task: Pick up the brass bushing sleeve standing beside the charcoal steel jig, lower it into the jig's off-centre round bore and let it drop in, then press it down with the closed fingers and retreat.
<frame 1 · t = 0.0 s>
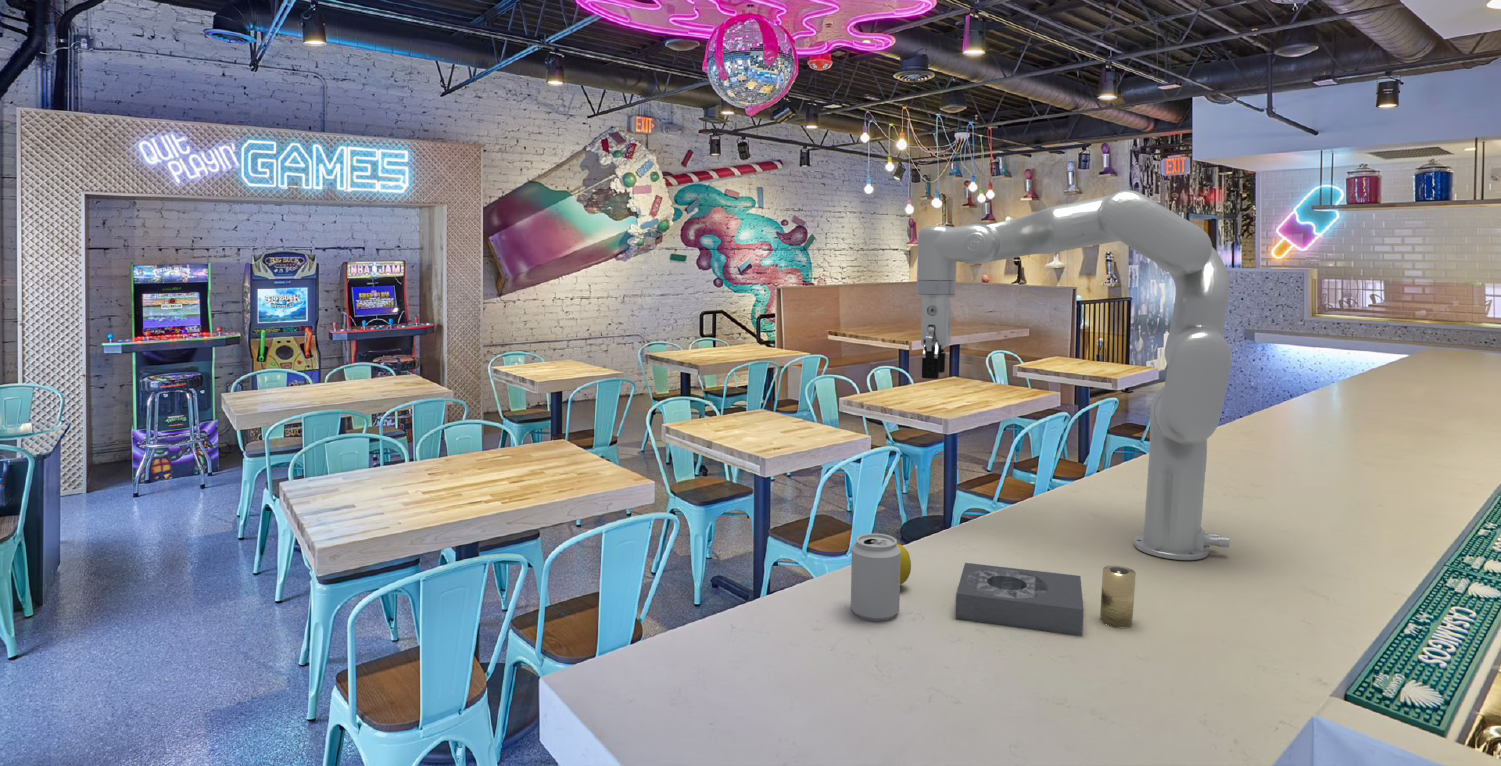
hand: (933, 375, 169), 31 cm above the counter, fingers open, 9 cm apart
jig: (1018, 608, 132), on the counter
lemon: (893, 589, 140), on the counter
bushing: (1115, 621, 127), on the counter
can: (874, 614, 130), on the counter
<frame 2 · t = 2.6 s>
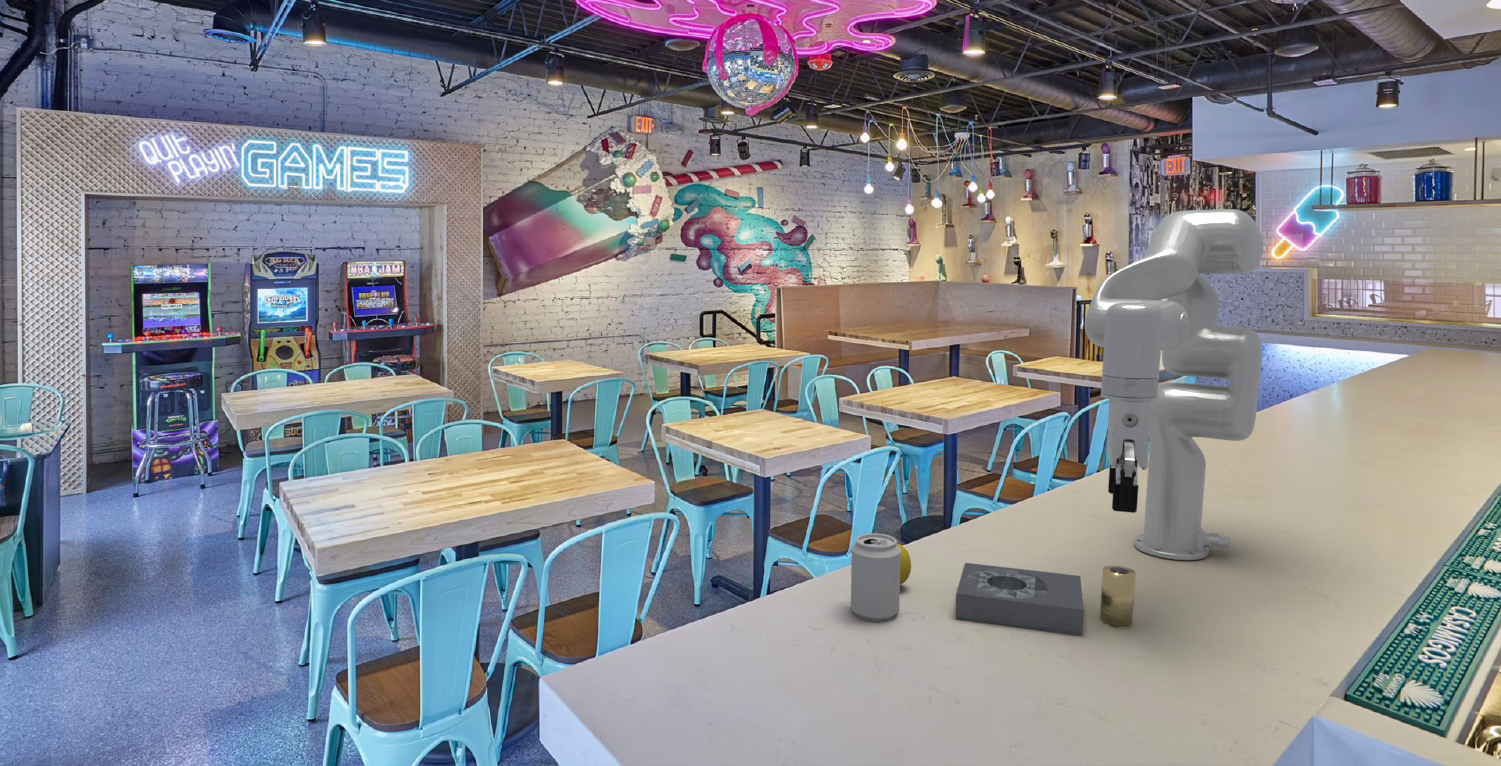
hand: (1121, 502, 125), 19 cm above the counter, fingers open, 9 cm apart
nothing on the counter moved.
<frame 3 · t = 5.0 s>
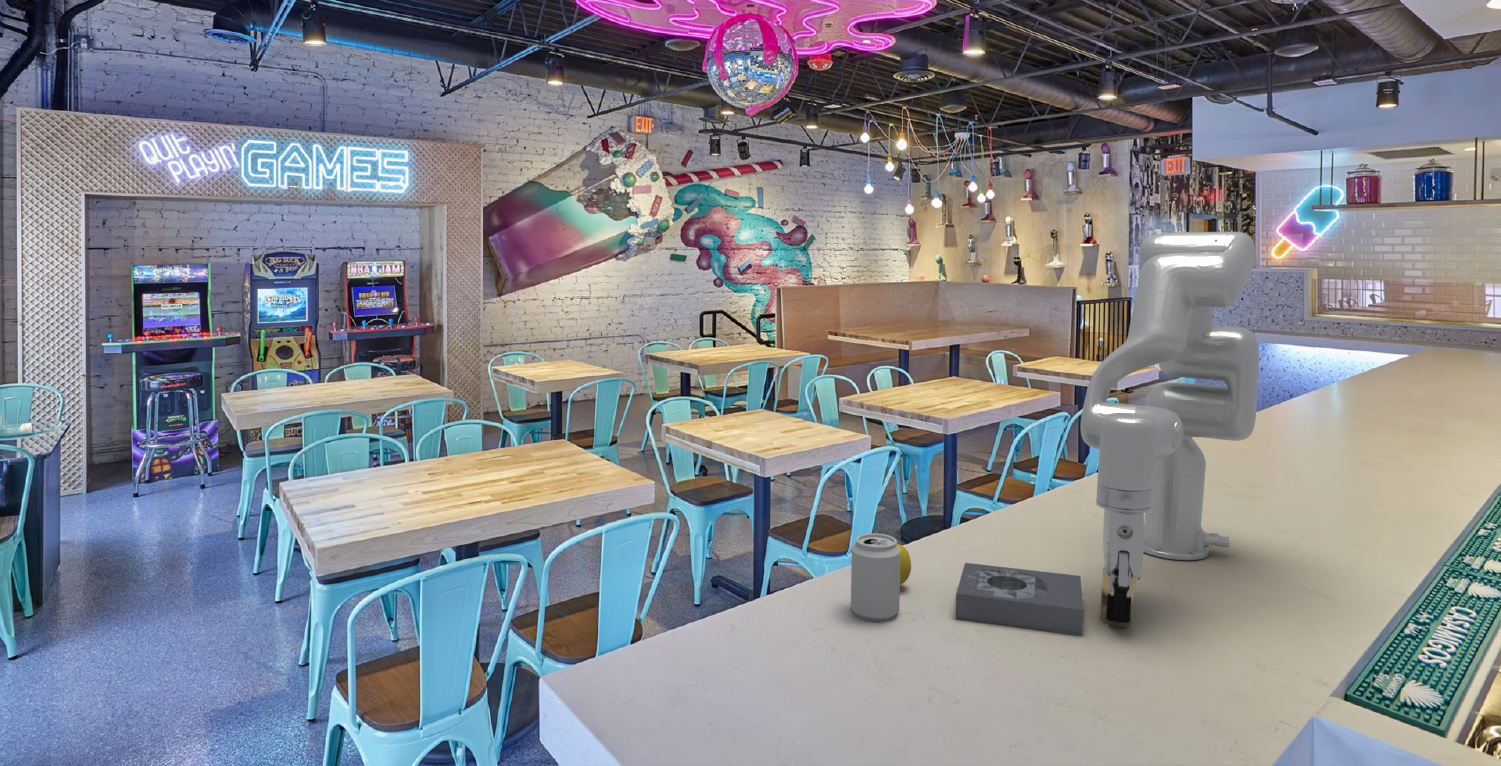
hand: (1116, 612, 127), 1 cm above the counter, fingers closed on bushing, 4 cm apart
bushing: (1115, 621, 127), on the counter, touching gripper
everything else where it was.
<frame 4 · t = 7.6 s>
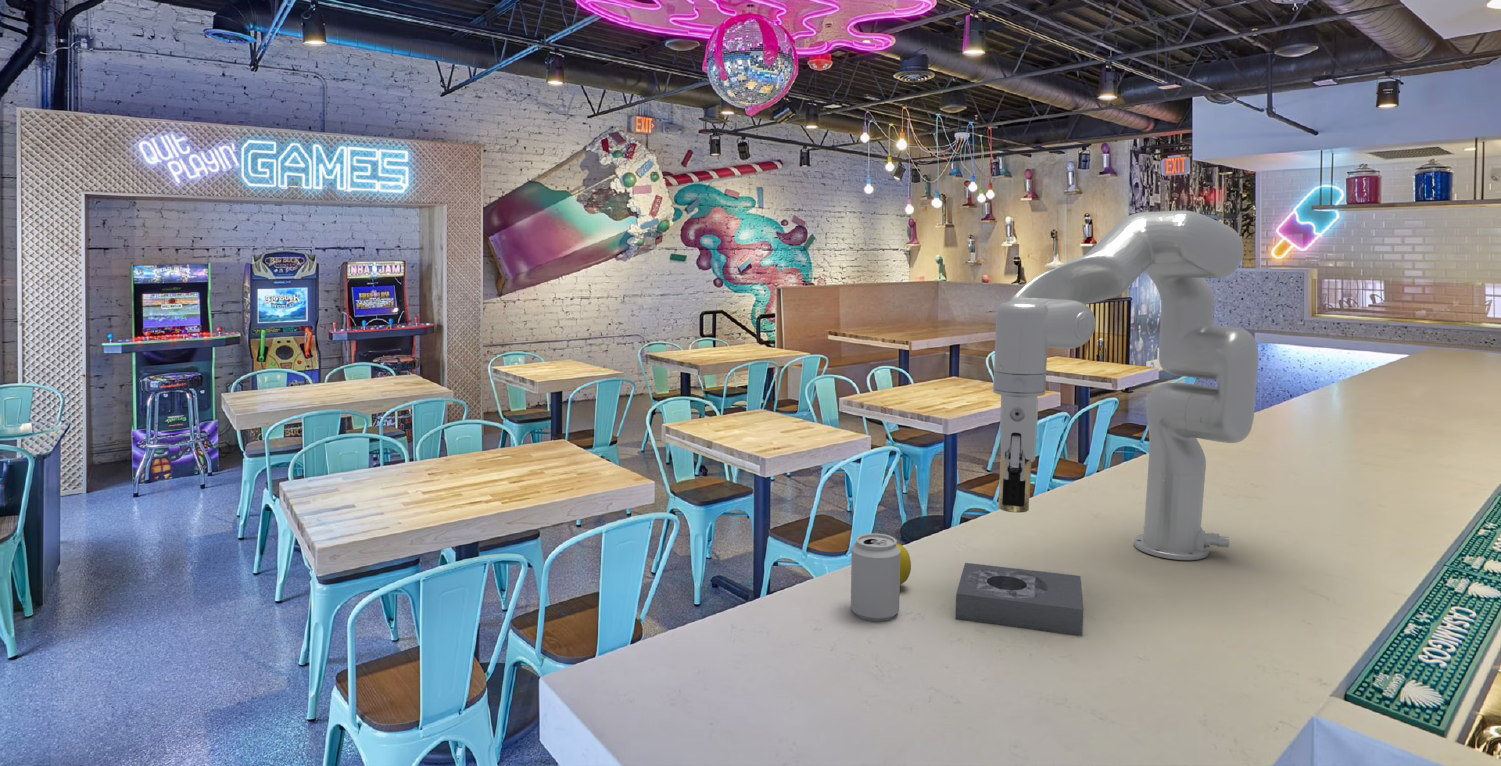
hand: (1013, 499, 130), 18 cm above the counter, fingers closed on bushing, 4 cm apart
bushing: (1013, 508, 130), point 16 cm above the counter, touching gripper
everything else where it was.
when the fingers open (5 cm above the counter, at t = 10.4 s): bushing drops 3 cm, resting in jig.
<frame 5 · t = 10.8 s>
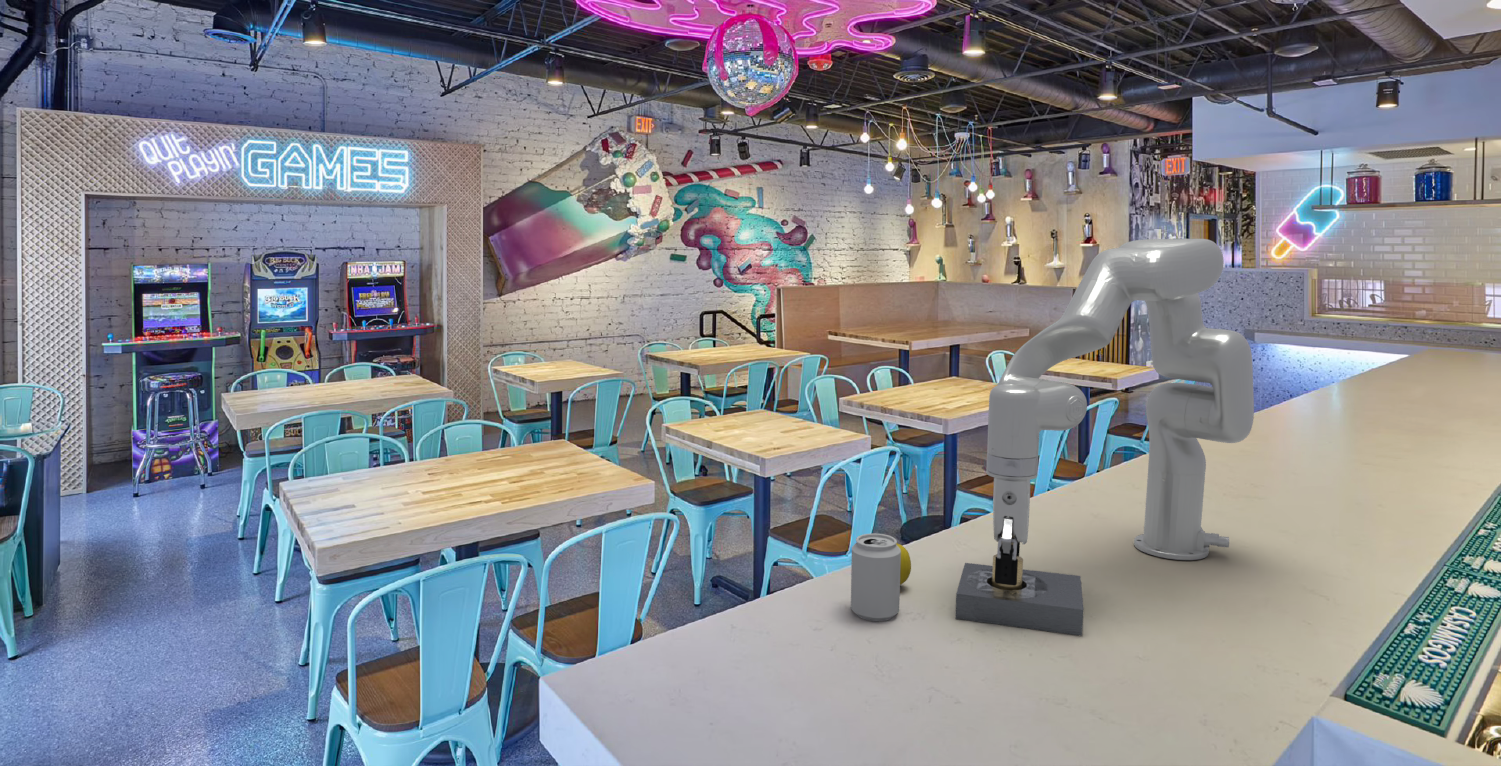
hand: (1007, 572, 132), 6 cm above the counter, fingers open, 8 cm apart
bushing: (1005, 607, 133), resting in jig
everything else where it was.
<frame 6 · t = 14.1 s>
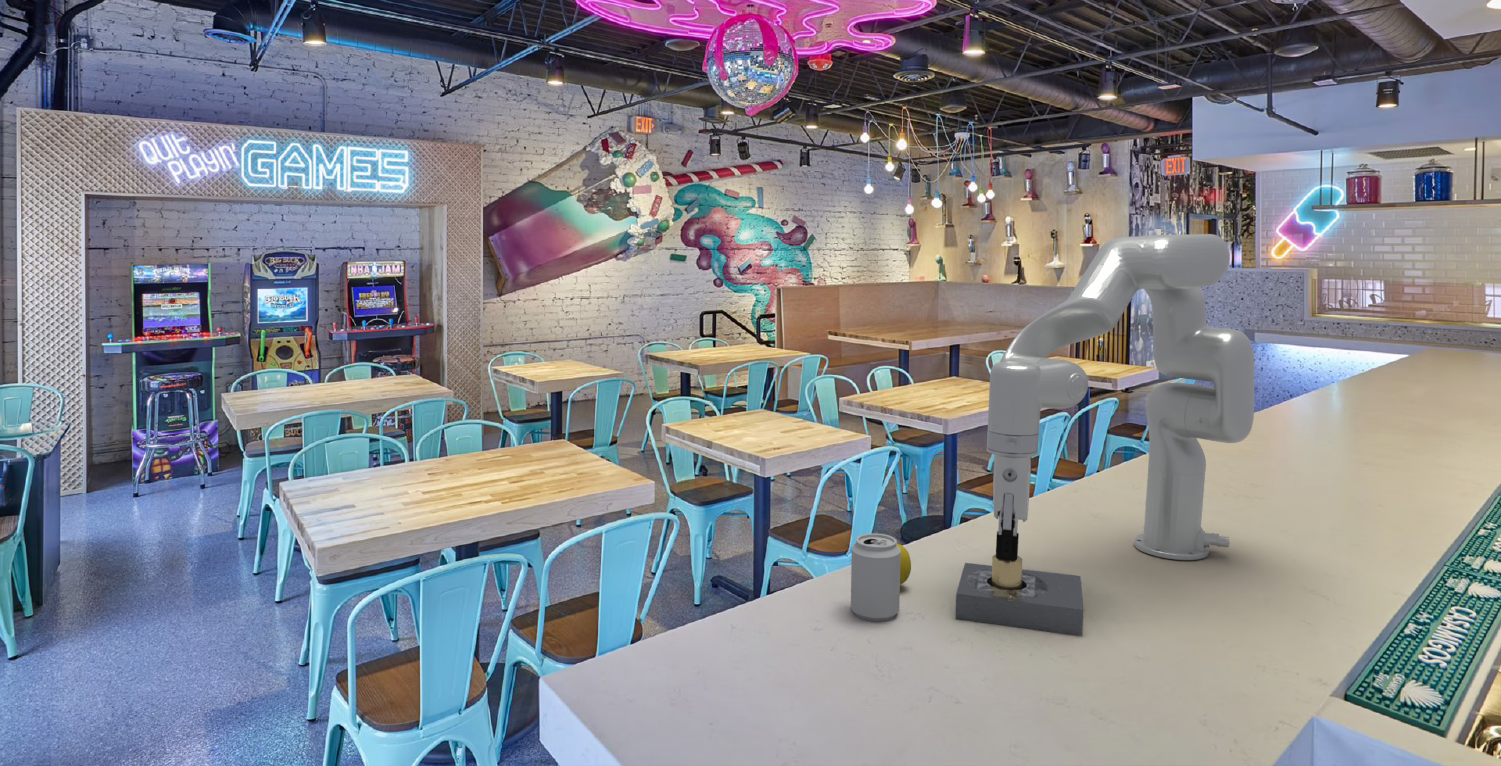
hand: (1006, 558, 131), 8 cm above the counter, fingers closed
bushing: (1005, 606, 133), resting in jig, touching gripper
everything else where it was.
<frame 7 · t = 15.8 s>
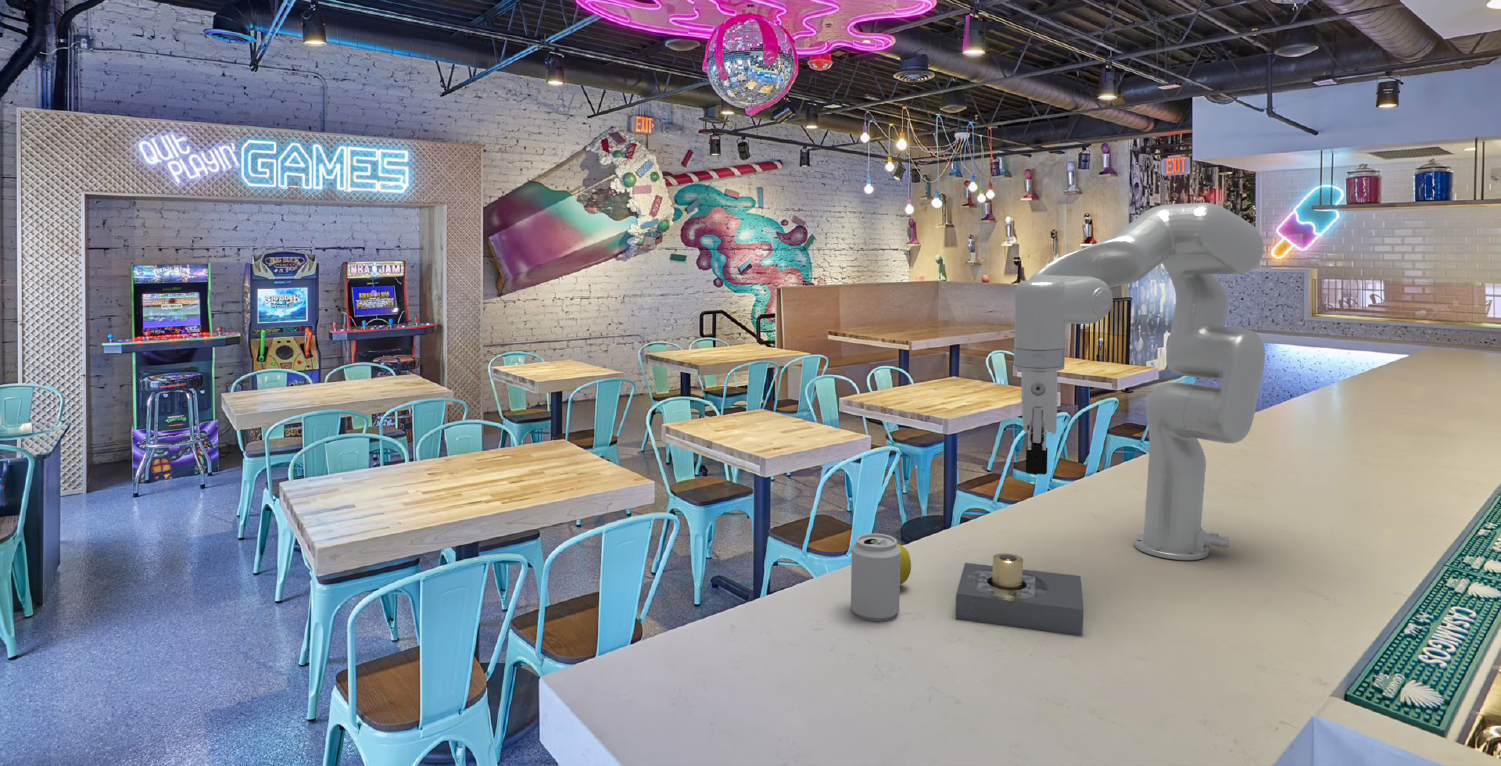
hand: (1036, 472, 135), 20 cm above the counter, fingers closed
bushing: (1005, 607, 133), resting in jig
everything else where it was.
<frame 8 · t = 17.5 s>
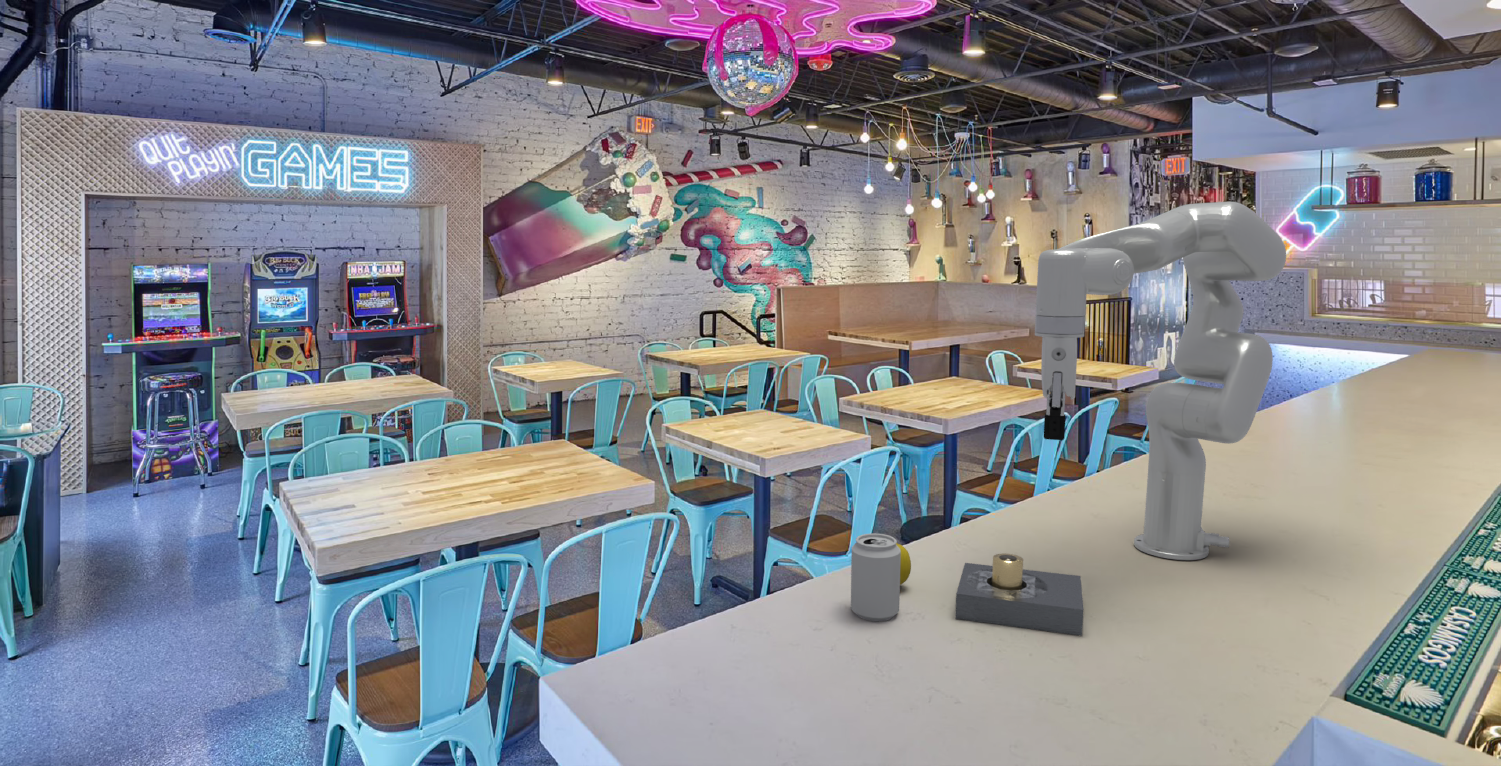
hand: (1053, 438, 138), 25 cm above the counter, fingers closed
nothing on the counter moved.
at the end: bushing 0.1 cm from the target spot on the jig, point 0.0 cm above the jig's base; bushing tilted 0°; the gripper is holding nothing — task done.
